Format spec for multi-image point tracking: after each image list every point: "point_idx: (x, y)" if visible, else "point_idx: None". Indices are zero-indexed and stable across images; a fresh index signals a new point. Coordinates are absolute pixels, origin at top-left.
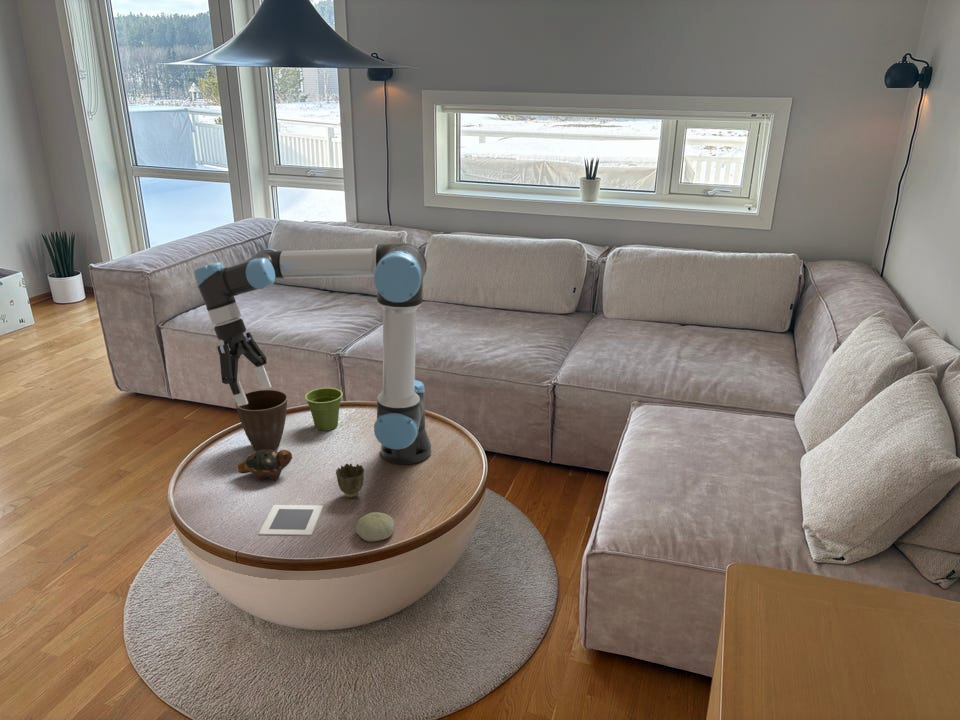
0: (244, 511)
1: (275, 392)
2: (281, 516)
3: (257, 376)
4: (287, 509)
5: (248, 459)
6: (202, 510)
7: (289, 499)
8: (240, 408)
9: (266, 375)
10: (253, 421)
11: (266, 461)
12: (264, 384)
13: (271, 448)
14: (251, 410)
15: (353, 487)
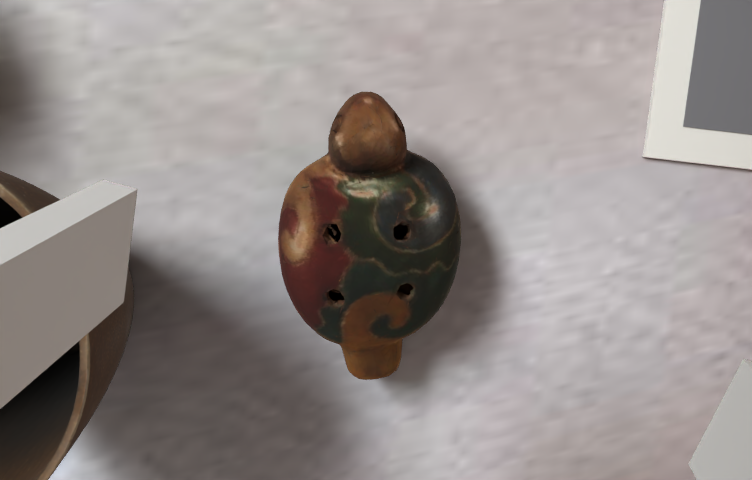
0: (672, 276)
1: None
2: (746, 106)
3: (10, 394)
4: (691, 88)
5: (399, 325)
6: (644, 454)
7: (594, 95)
8: None
9: (14, 243)
10: (112, 363)
11: (437, 221)
12: (101, 270)
13: None
14: (86, 393)
15: None
